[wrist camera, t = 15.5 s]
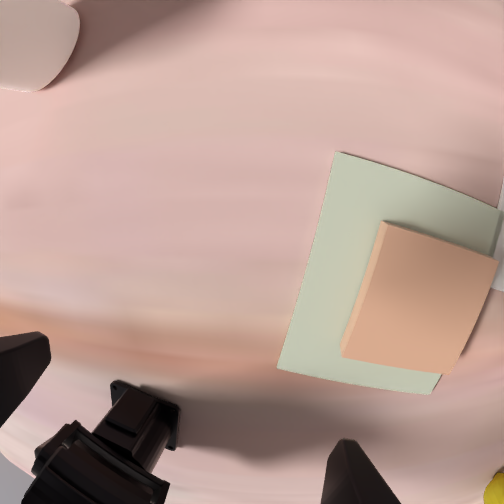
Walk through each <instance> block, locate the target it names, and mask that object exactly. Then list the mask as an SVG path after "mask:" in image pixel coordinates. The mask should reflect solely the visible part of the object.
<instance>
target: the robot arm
mask: <svg viewBox="0 0 504 504" xmlns="http://www.w3.org/2000/svg"><path fill="white" fill-rule="evenodd" d="M50 361H51V352H50V345H49V339H48V337H47V336H46V335H44V334H42V333H40V332H38V331H36V332H30V333H24V334H18V335H12V336H5V337H0V428H1V426H2V425H3V424H4V423H5V422H6V420H7V419H8V418H9V417H10V415H11V414H12V413H13V412H14V411H15V409H16V408H17V407H18V406H19V405H20V404H21V402H22V401H23V400H24V399H25V398H26V396H27V395H28V394H29V392H30V391H31V389H32V388H33V386H34V385H35V384H36V382H37V381H38V379H39V378H40V376H41V375H42V374H43V372H44V371H45V369H46V368H47V366H48V365H49V364H50ZM110 389H111V399H112V408H111V409H110V410H109V412H108V413H107V414H106V415H105V417H104V418H103V419H102V420H101V422H100V423H99V424H98V425H97V426H96V428H95V429H94V430H93V431H92V433H90V432H89V431H88V430H87V429H85V428H84V427H83V426H81V423H79V422H78V421H77V420H75V421H74V422H73V423H72V424H71V425H70V424H65V425H64V426H63V427H62V428H61V429H60V430H59V431H58V433H57V434H55V435H54V436H53V437H52V438H50V439H49V440H47V441H46V442H44V443H43V444H41V445H40V446H38V447H37V448H36V449H35V451H34V453H35V458H36V460H35V462H34V465H33V467H32V470H31V472H32V473H33V474H34V475H35V476H36V478H35V480H34V481H33V482H32V484H31V486H30V487H29V489H28V490H27V491H26V493H25V495H24V498H23V499H22V502H21V504H164V502H165V499H166V496H167V493H168V490H169V486H170V483H169V482H167V481H165V480H161V479H160V478H158V477H156V476H154V475H153V474H151V473H152V471H153V469H154V467H155V465H156V463H157V462H158V460H159V458H160V456H161V454H162V452H163V450H164V448H166V449H168V450H171V451H175V449H176V447H177V440H178V429H179V419H180V408H179V407H178V406H177V405H175V404H172V403H169V402H167V401H164V400H161V399H159V398H156V397H153V396H151V395H148V394H146V393H143V392H141V391H139V390H136V389H134V388H131V387H129V386H127V385H125V384H122V383H120V382H118V381H113V382H112V383H111V384H110ZM321 504H401V503H400V501H399V500H398V498H397V497H396V496H395V494H394V493H393V492H392V490H391V489H390V487H389V486H388V485H387V483H386V482H385V480H384V479H383V478H382V476H381V475H380V473H379V472H378V471H377V469H376V468H375V466H374V465H373V464H372V462H371V461H370V459H369V458H368V457H367V455H366V454H365V452H364V451H363V450H362V448H361V447H360V445H359V444H358V442H357V441H355V440H352V439H345V438H343V439H341V440H340V441H339V442H338V443H337V445H336V446H335V448H334V449H333V451H332V452H331V454H330V455H329V458H328V461H327V467H326V474H325V480H324V487H323V493H322V498H321Z"/></svg>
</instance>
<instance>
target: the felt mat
mask: <svg viewBox="0 0 504 504" xmlns="http://www.w3.org/2000/svg"><path fill="white" fill-rule="evenodd" d="M500 213H501V214H500ZM502 214H504V212H503V211H502V212H501V210H499V209H497V208H494V207H492V206H490V205H488V204H485V203H483V202H481V201H479V200H476V199H474V198H472V197H469V196H467V195H464V194H462V193H460V192H457V191H455V190H452V189H450V188H447V187H444V186H442V185H439V184H437V183H434V182H431V181H429V180H426V179H423V178H420V177H417V176H415V175H412V174H409V173H406V172H403V171H400V170H397V169H394V168H391V167H388V166H385V165H381V164H378V163H375V162H372V161H368V160H365V159H361V158H358V157H354V156H351V155H347V154H344V153H340V152H335V155H334V159H333V164H332V168H331V173H330V177H329V181H328V185H327V190H326V194H325V198H324V202H323V206H322V210H321V214H320V218H319V222H318V226H317V230H316V234H315V238H314V241H313V245H312V249H311V253H310V256H309V260H308V264H307V267H306V271H305V275H304V278H303V282H302V285H301V289H300V292H299V296H298V299H297V303H296V306H295V309H294V313H293V316H292V319H291V323H290V326H289V329H288V332H287V336H286V339H285V342H284V345H283V348H282V352H281V355H280V358H279V361H278V364H277V369H281V370H286V371H290V372H294V373H299V374H303V375H308V376H312V377H317V378H322V379H327V380H332V381H337V382H343V383H348V384H354V385H360V386H366V387H372V388H378V389H385V390H392V391H400V392H408V393H416V394H425V395H430V393H431V392H432V390H433V388H434V387H435V385H436V383H437V381H438V380H439V378H440V376H441V375H442V374H438V373H430V372H423V371H416V370H410V369H403V368H397V367H391V366H385V365H380V364H374V363H368V362H363V361H358V360H353V359H348V358H343V357H341V350H340V342H341V339H342V337H343V334H344V332H345V329H346V326H347V324H348V321H349V318H350V316H351V313H352V310H353V307H354V305H355V302H356V299H357V296H358V293H359V290H360V287H361V284H362V281H363V278H364V275H365V272H366V269H367V266H368V263H369V260H370V256H371V253H372V250H373V246H374V243H375V240H376V236H377V233H378V229H379V226H380V222H381V220H382V221H385V222H389V223H392V224H395V225H399V226H402V227H405V228H409V229H412V230H415V231H418V232H421V233H424V234H428V235H431V236H434V237H437V238H440V239H443V240H446V241H449V242H452V243H455V244H458V245H461V246H464V247H466V248H469V249H472V250H475V251H478V252H481V253H483V254H486V255H488V256H490V257H492V258H493V252H495V248H496V245H495V244H497V241H498V238H499V235H498V234H499V233H500V230H501V227H502V226H501V225H502V224H503V223H502V222H503V220H504V219H502V220H501V218H503V217H502V216H504V215H502ZM500 215H501V216H500ZM499 216H500V217H501V218H499ZM498 219H499V222H497V221H498ZM500 220H501V221H502V222H501V221H500ZM499 224H500V225H499ZM497 225H498V227H499V228H500V229H499V228H498V227H497ZM496 227H497V228H498V229H497V228H496ZM495 230H496V231H495ZM497 230H499V231H497ZM495 232H496V233H495ZM495 234H497V235H498V236H497V235H496V236H495ZM496 237H497V238H496ZM494 238H496V239H494ZM493 239H494V240H493ZM492 240H493V241H494V242H493V241H492ZM496 240H497V241H496ZM495 241H496V243H495ZM493 243H495V244H493ZM491 244H493V245H494V246H495V247H494V246H493V245H491ZM491 246H493V247H492V248H491ZM490 248H491V249H490ZM493 248H494V249H493ZM492 249H493V250H492ZM490 250H491V252H492V256H491V255H490Z"/></svg>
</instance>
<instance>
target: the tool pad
mask: <svg viewBox="0 0 504 504" xmlns="http://www.w3.org/2000/svg"><path fill="white" fill-rule="evenodd" d="M497 209H499V210H501V212H502V211H503V212H504V178H503V184H502V189H501V194H500V199H499V203H498V208H497ZM500 214H501V213H500ZM502 215H504V214H502ZM500 216H501V215H500ZM500 216H499V218H501V217H500ZM502 217H503V218H501V220H502V219H504V216H502ZM501 220H500V221H501ZM497 222H499V219H498V221H497ZM501 222H502V221H501ZM502 223H503V224H502V225H501V226H502V227H501V230H500V233H499V234H498V235H499V238H498V241H497V240H496V241H497V244H495V243H496V241H495V243H493V244H495V245H496V248H495V252H493V258H494V259H496V260H497V261H499V264H498V267H497V270H496V273H495V276H494V278H493V281H492V284H491V287H490V288H493V289H496V290H499V291H502V292H504V220H503V222H502ZM499 225H500V224H499ZM497 227H498V225H497ZM497 227H496V228H497ZM498 228H499V227H498ZM498 228H497V229H498ZM499 229H500V228H499ZM495 231H496V230H495ZM497 231H499V230H497ZM495 233H496V232H495ZM496 235H497V234H495V236H496ZM498 235H497V236H498ZM496 238H497V237H496ZM496 238H494V239H496ZM494 239H493V240H494ZM493 240H492V241H493ZM493 242H494V241H493ZM493 244H491V245H493ZM493 246H494V245H493ZM493 246H491V248H492V247H493ZM494 247H495V246H494ZM491 248H490V249H491ZM493 249H494V248H493ZM493 249H492V250H493ZM490 255H491V256H492V252H491V250H490Z"/></svg>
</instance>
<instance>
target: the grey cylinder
mask: <svg viewBox="0 0 504 504" xmlns="http://www.w3.org/2000/svg"><path fill="white" fill-rule="evenodd" d="M79 29H80V19H79V15H78V13H77V11H76V10H75V9H74V8H73V7H71V6H69V5H67V4H65V3H63V2H61V1H59V0H0V88H2V89H9V90H16V91H23V92H35V91H38V90H40V89H42V88H44V87H45V86H46V85H48V84H49V83H50V82H51V81H52V80H53V79H54V78H55V77H56V76H57V75H58V74H59V72H60V71H61V70H62V68H63V67H64V66H65V64H66V62H67V61H68V59H69V57H70V55H71V54H72V51H73V49H74V47H75V44H76V42H77V39H78V35H79Z"/></svg>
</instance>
